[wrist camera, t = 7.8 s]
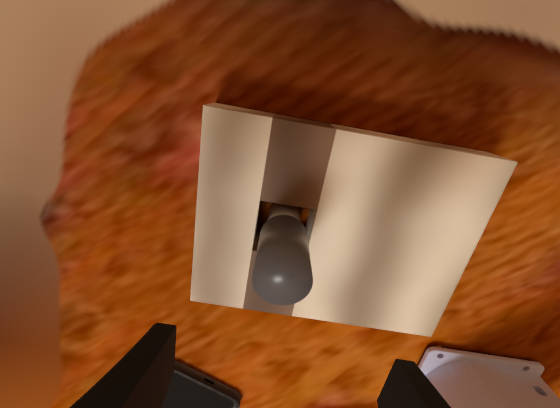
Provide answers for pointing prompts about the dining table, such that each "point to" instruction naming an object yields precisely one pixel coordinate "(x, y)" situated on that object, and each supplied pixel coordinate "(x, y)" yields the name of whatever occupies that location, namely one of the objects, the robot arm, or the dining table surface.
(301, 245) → the grey cylinder
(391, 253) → the board
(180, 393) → the phone
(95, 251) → the dining table surface
